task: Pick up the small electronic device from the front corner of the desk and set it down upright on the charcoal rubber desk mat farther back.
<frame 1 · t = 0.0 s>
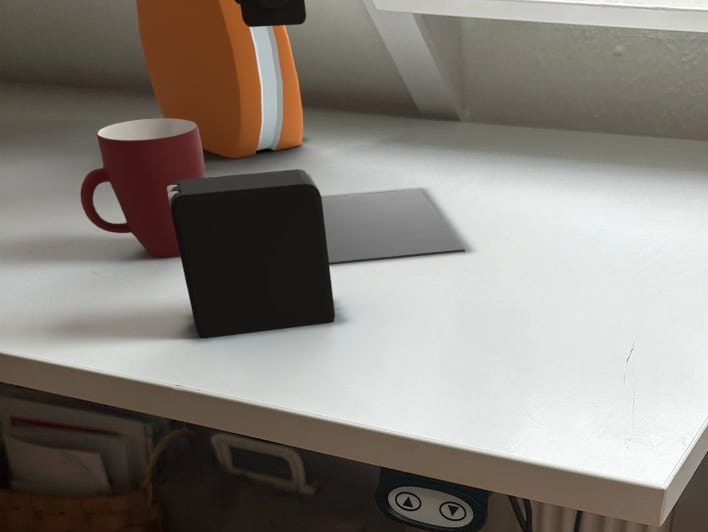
hand: (268, 13, 52), 20 cm above the table, tool pointing down, fingers open, 9 cm apart
desk mat: (335, 232, 87), on the table
mug: (162, 259, 83), on the table
electronic device: (266, 328, 70), on the table
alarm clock: (237, 143, 116), on the table
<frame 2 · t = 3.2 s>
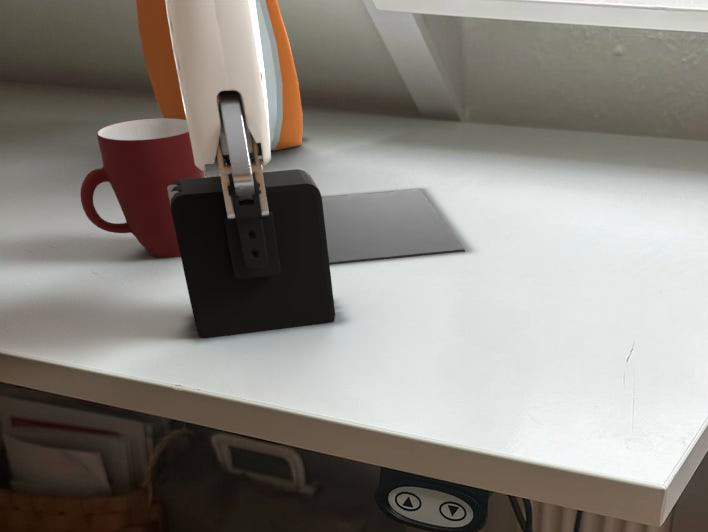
hand: (255, 261, 67), 5 cm above the table, tool pointing down, fingers closed on electronic device, 4 cm apart
electronic device: (266, 328, 70), on the table, touching gripper
everything else where it was.
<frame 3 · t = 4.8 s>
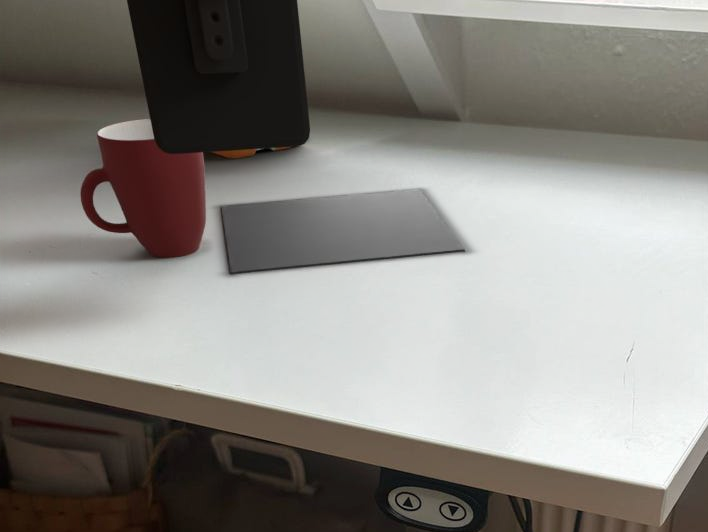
hand: (220, 61, 60), 17 cm above the table, tool pointing down, fingers closed on electronic device, 4 cm apart
electronic device: (233, 146, 63), point 12 cm above the table, touching gripper
everything else where it was.
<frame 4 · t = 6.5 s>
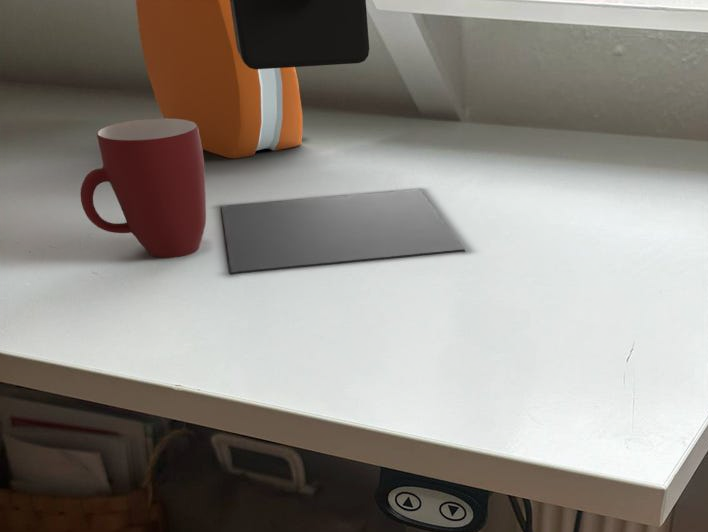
electronic device: (304, 65, 76), point 14 cm above the table, touching gripper
everything else where it was.
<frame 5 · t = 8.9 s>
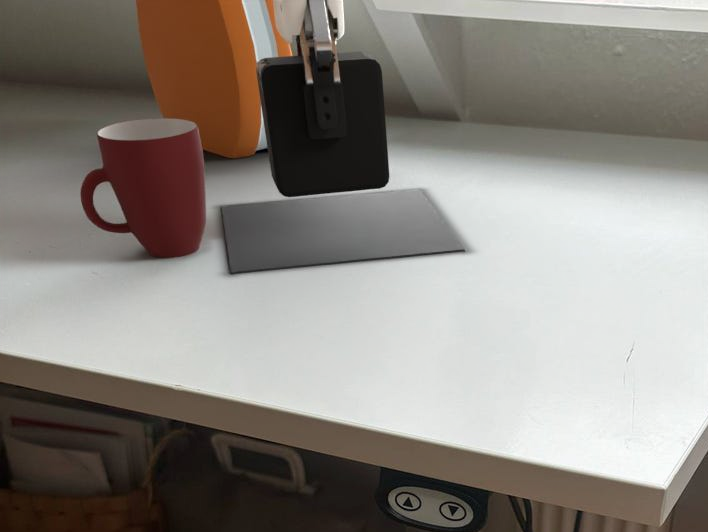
hand: (324, 128, 82), 9 cm above the table, tool pointing down, fingers closed on electronic device, 4 cm apart
electronic device: (331, 189, 85), point 4 cm above the table, touching gripper
everything else where it was.
when the fingers open (5 cm above the table, at t = 10.1 s): electronic device stays where it is, resting on desk mat.
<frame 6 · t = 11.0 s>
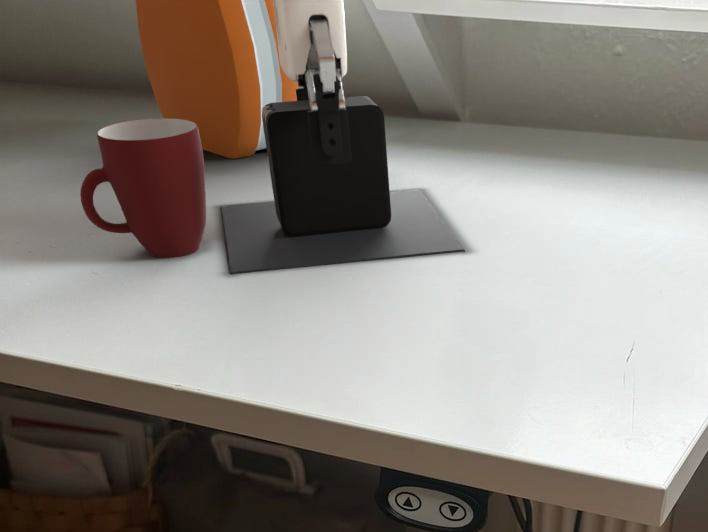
hand: (325, 150, 83), 7 cm above the table, tool pointing down, fingers open, 9 cm apart
electronic device: (334, 228, 87), resting on desk mat
everything else where it was.
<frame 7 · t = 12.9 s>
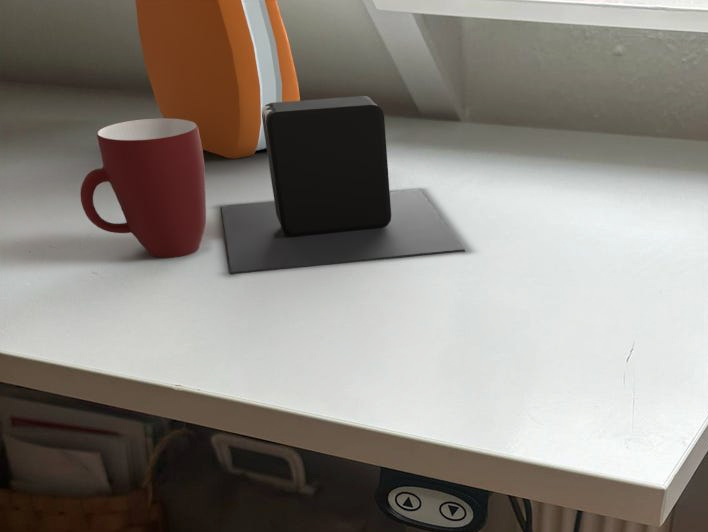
nothing on the table moved.
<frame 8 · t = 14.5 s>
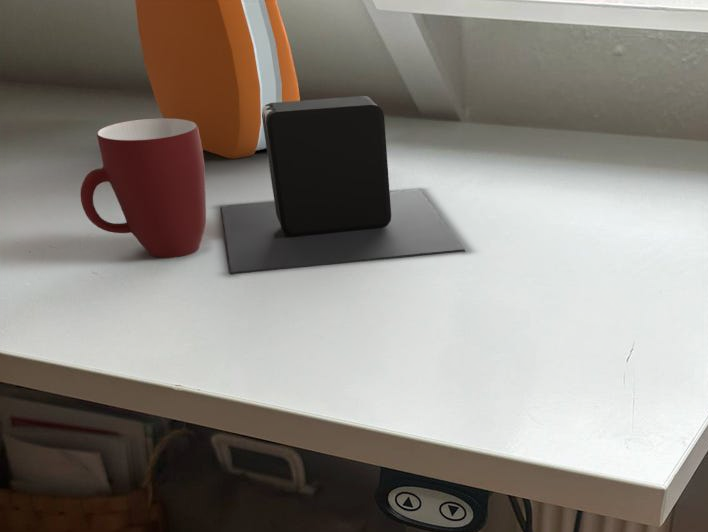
nothing on the table moved.
at the end: electronic device inside the target area on the desk mat (0.0 cm from its centre), point 0.4 cm above the desk mat's base; electronic device tilted 0°; the gripper is holding nothing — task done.
